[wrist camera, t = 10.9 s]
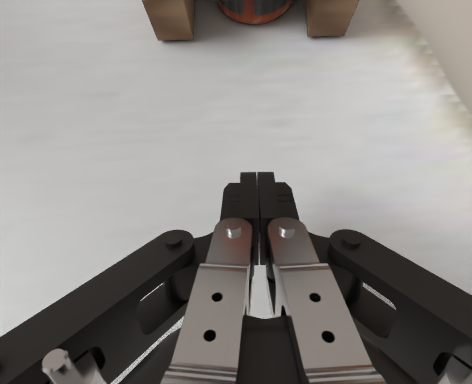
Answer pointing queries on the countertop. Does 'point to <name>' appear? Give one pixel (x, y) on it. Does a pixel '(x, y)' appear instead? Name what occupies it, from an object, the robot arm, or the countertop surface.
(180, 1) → the walnut u-shaped holder
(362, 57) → the countertop surface
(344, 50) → the countertop surface
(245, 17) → the supplement bottle
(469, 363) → the robot arm
